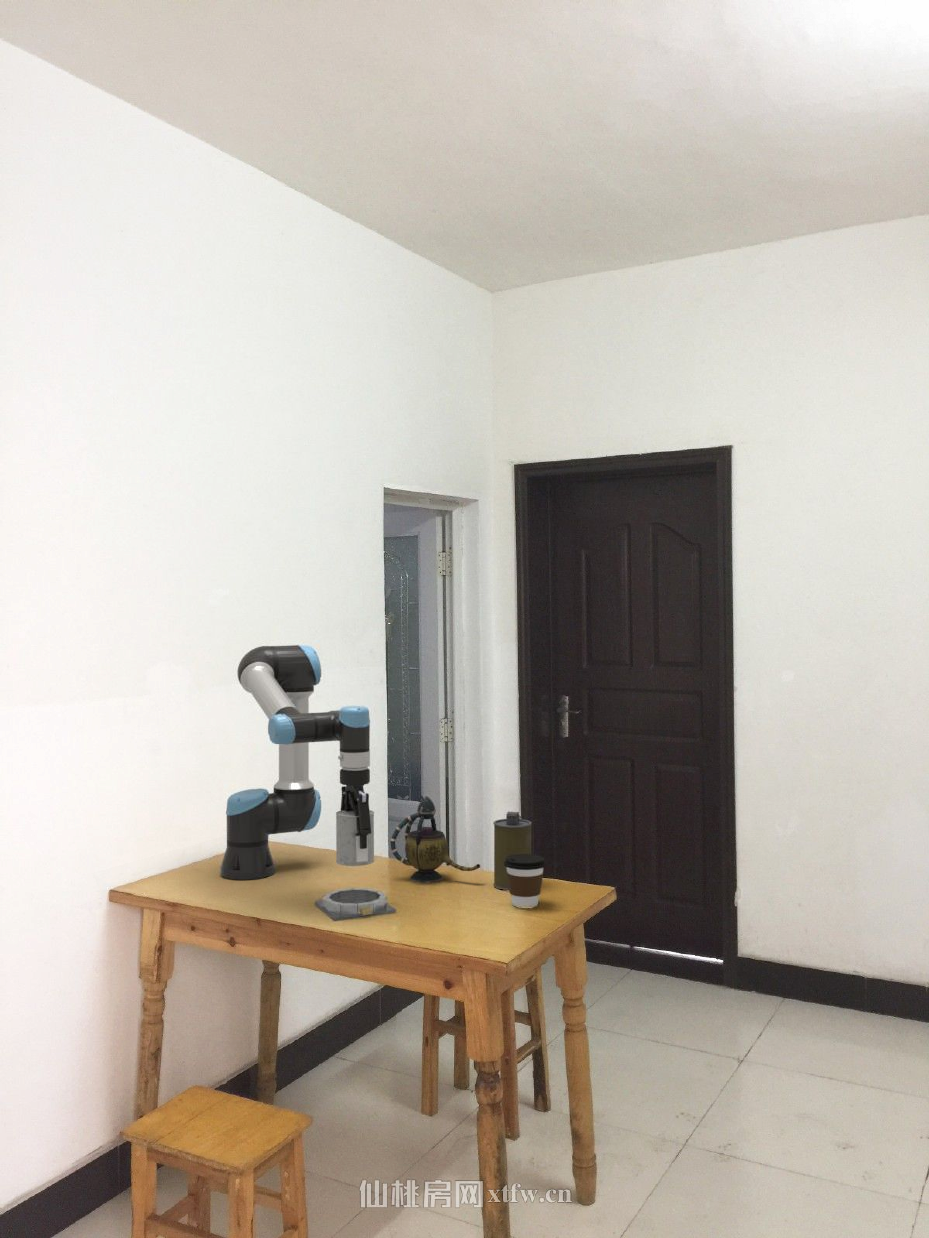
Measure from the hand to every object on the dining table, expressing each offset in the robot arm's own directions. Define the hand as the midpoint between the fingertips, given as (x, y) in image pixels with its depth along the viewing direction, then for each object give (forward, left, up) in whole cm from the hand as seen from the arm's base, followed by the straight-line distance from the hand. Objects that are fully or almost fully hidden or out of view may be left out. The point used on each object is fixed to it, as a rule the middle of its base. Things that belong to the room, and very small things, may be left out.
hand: (355, 856), depth 265 cm
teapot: (-16, +30, -13) cm, 37 cm away
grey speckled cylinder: (0, 0, -1) cm, 1 cm away
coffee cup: (+16, +40, -13) cm, 45 cm away
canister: (-2, +46, -13) cm, 48 cm away
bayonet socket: (0, 0, -13) cm, 13 cm away
